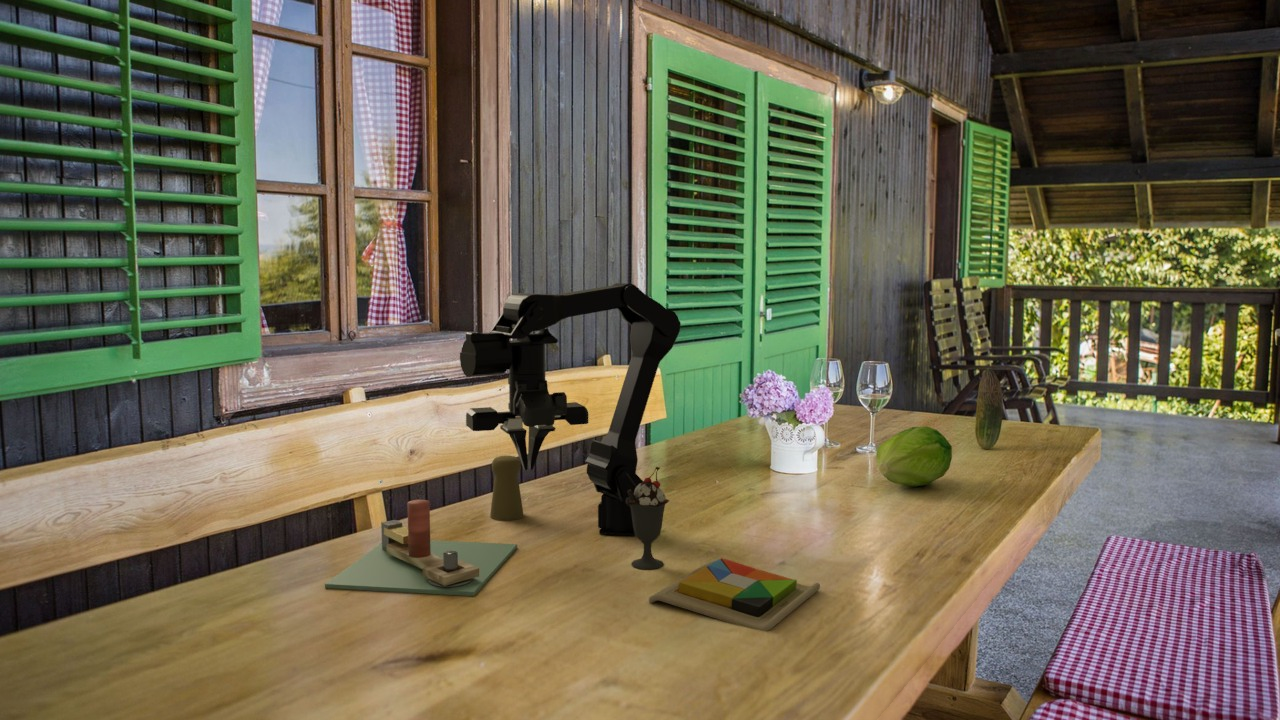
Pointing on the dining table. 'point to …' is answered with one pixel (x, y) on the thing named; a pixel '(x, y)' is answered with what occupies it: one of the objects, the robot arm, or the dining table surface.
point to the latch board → (402, 576)
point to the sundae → (647, 518)
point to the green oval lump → (914, 456)
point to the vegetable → (988, 410)
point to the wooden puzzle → (737, 594)
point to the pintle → (450, 570)
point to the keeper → (393, 533)
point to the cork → (506, 489)
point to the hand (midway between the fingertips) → (528, 469)
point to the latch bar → (427, 548)
